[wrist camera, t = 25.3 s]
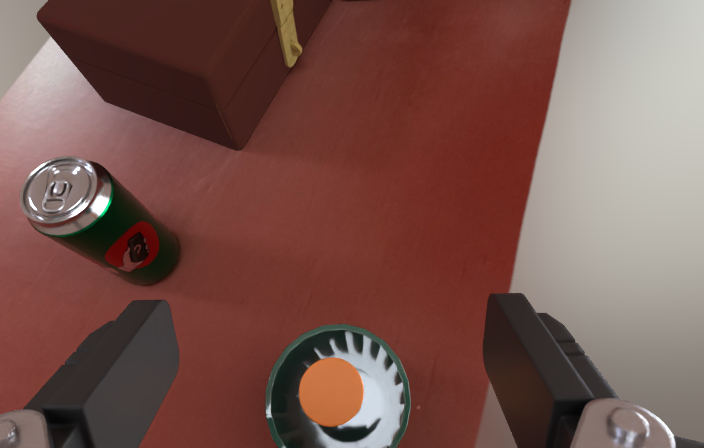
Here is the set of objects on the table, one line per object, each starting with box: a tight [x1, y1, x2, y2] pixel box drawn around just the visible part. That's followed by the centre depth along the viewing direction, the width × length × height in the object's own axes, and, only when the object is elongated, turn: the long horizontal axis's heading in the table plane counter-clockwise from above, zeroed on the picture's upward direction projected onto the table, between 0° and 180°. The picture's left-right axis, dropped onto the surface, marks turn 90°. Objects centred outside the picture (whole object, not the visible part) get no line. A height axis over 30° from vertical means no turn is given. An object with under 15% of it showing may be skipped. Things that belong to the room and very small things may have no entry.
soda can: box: [20, 156, 179, 285], centre depth 31 cm, size 5×5×12 cm
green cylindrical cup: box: [265, 324, 411, 448], centre depth 27 cm, size 7×7×11 cm
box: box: [37, 0, 332, 150], centre depth 40 cm, size 21×16×10 cm
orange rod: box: [299, 357, 364, 427], centre depth 24 cm, size 2×2×16 cm
